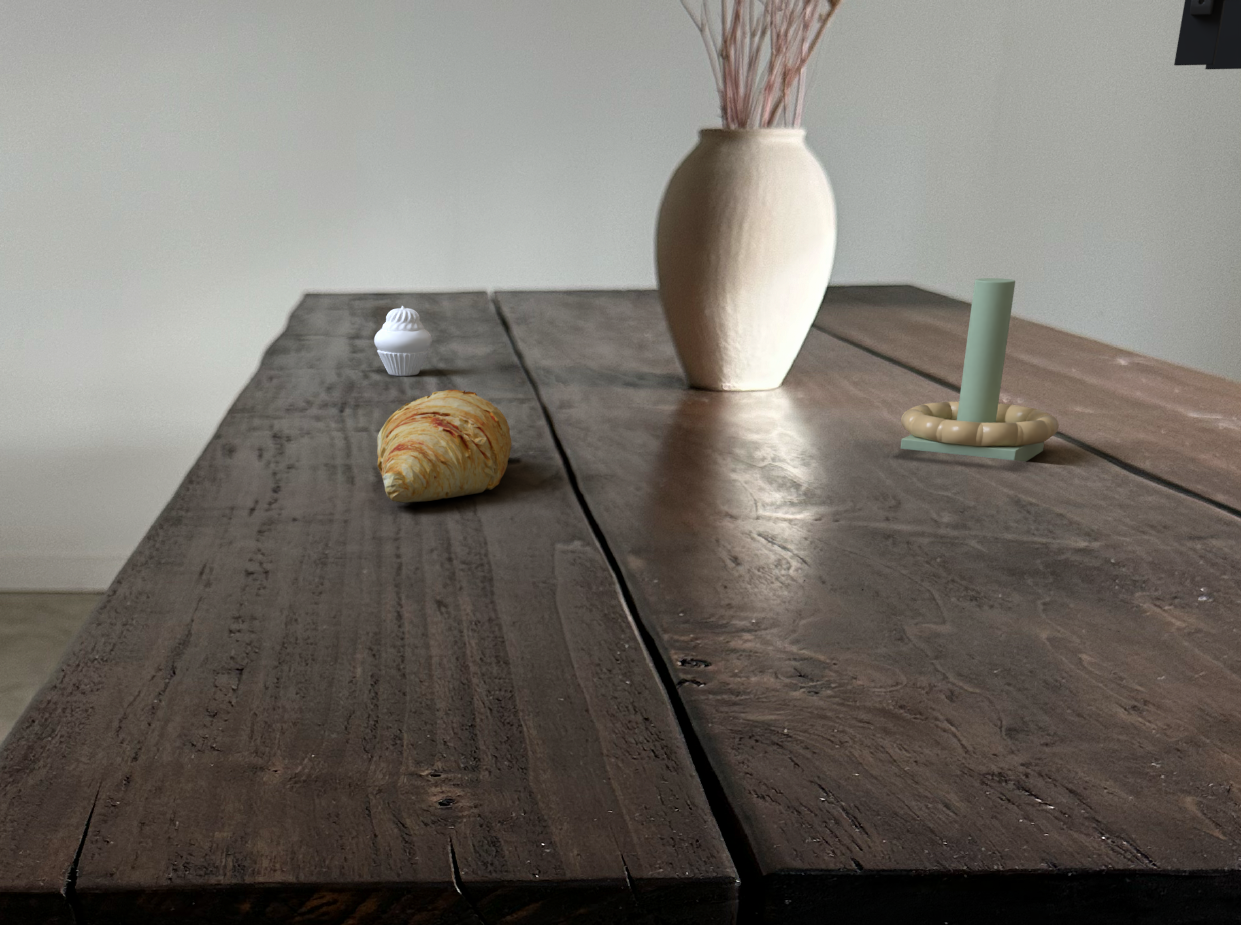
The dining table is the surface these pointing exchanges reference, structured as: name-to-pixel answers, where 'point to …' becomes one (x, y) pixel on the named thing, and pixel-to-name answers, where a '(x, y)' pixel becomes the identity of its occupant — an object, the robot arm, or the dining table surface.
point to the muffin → (403, 342)
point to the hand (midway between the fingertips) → (1209, 67)
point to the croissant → (443, 447)
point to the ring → (980, 425)
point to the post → (983, 372)
